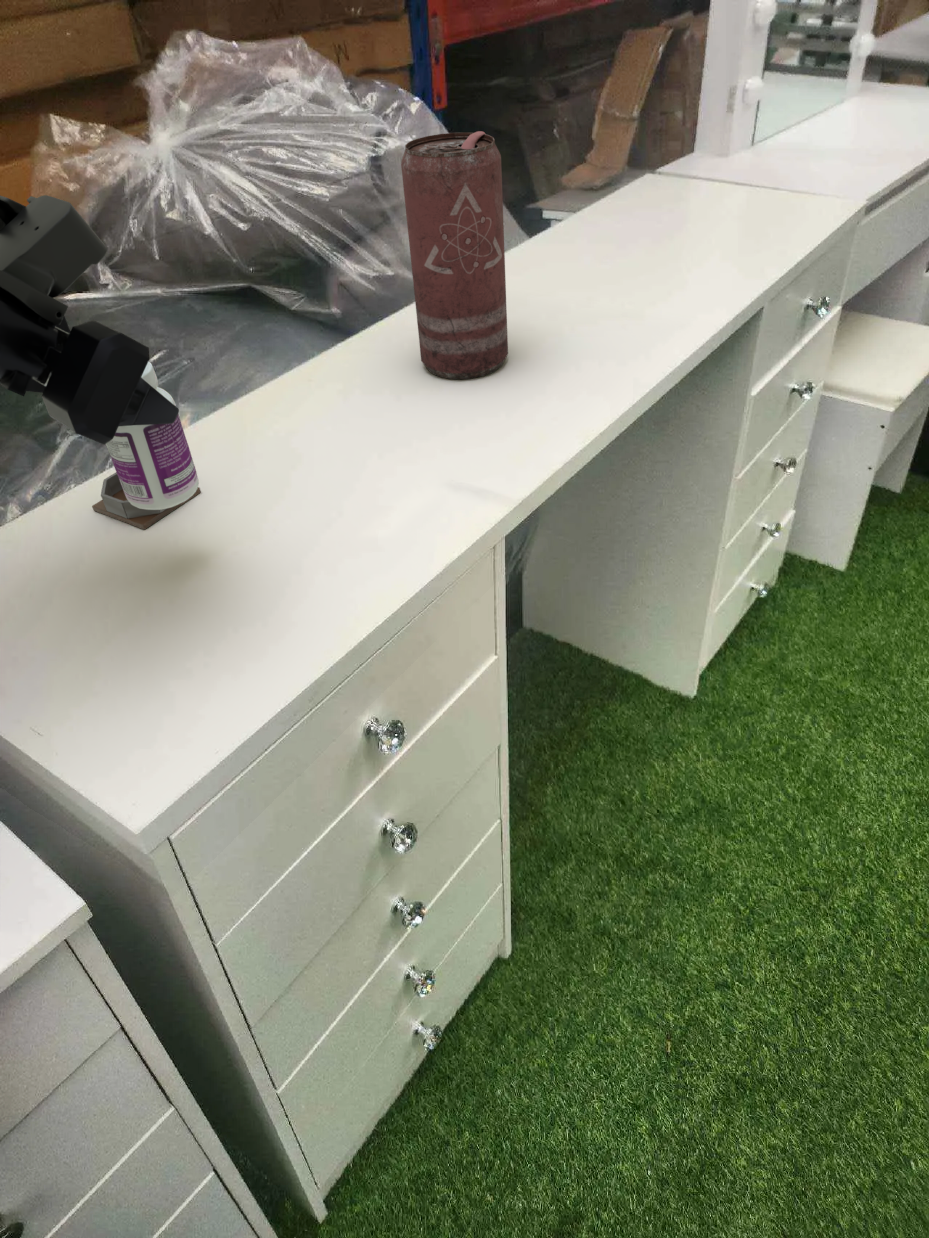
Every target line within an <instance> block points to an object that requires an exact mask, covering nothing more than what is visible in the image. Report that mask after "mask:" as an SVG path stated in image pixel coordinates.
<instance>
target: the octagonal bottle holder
mask: <svg viewBox="0 0 929 1238" xmlns="http://www.w3.org/2000/svg"><path fill="white" fill-rule="evenodd" d="M101 486H102V487H101V492H100V497H101V500H99V501H97V502H96V503H94V504H93V505H92V506H91V508H92V510H93V511H94V512H97V513H99V514H102V515H104V516H107V517H110V518H112V519H115V520H118V521H121V522H123V523H126V524H128V525H131V526H134V527H136V528H138V529H141V530H147V529H149V527H151V526H153V525H154V524H155V523H157V522H158V521H160V520H161V519H163V518H165V517H166V516H167V515H168V514H171V513H172V512H173V511H176V509H178V508H180V507H181V506H183V505H184V504H185V503H187V502H189V501H190V500H192V499H193V498H195V497H196V496H198V495H199V494H201V493H202V490H201V488H200V487H199V486H198V488H197V490H196V492H195V493H194V494H193V495H192V496H191V497H190V498H189V499H188V500H186V501H184V502H182V503H180V504H178V505H176V506H173V507H170V508H166V509H160V510H147V509H140V508H137V507H135V506H133V505H131V504H130V502H129V501H128V500H127V498H126V496H125V493H124V491H123V488H122V486H121V483H120V481H119V478H118V475H117V473H116V472H114V473H113V474H110V475H109V476H107V477H106V478H104V479H103V481H102V485H101Z"/></svg>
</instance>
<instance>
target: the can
mask: <svg viewBox="0 0 929 1238" xmlns="http://www.w3.org/2000/svg"><path fill="white" fill-rule="evenodd" d="M404 148H405V149H404V152H403V156H402V158H401V161H400V167H401V176H402V177H401V178H402V187H403V188H402V189H403V196H404V206H405V214H406V216H405V217H406V224H407V225H406V226H407V234H408V244H409V255H410V263H411V273H412V275H411V276H412V281H413V282H412V283H413V293H414V302H415V303H414V304H415V313H416V323H417V332H418V333H417V334H418V340H419V341H418V342H419V352H420V353H419V354H420V361H421V363H422V364H423V365H424V367H425V368H426V369H427V370H428V372H430V374H433V375H434V376H437V377H439V378H442V379H443V378H444V379H448V380H468V379H469V380H470V379H476V378H477V379H478V378H480V377H485V376H487V375H490V374H493V373H495V372H496V371H498V369H500V368H502V365H503V364H504V363H505V360H506V359H507V356H508V354H509V342H508V341H509V340H508V337H509V336H508V313H507V312H508V311H507V285H506V284H507V283H506V256H505V254H506V253H505V229H504V226H505V225H504V201H503V200H504V199H503V177H502V176H503V173H502V155H501V152H500V151H499V148H498V146H497V145H496V141H495V138H494V136H491V135H489V134H486V133H485V132H484V131H481V130H477V131H475V132H448V133H439V134H438V133H437V134H431V135H427V136H423V137H419V138H416V139H412V140H410V141H408V142H407V143H406V144H405V146H404Z"/></svg>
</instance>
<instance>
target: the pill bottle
mask: <svg viewBox="0 0 929 1238" xmlns="http://www.w3.org/2000/svg"><path fill="white" fill-rule="evenodd" d="M141 378H142V379H144V380H145V381H146V382H147V383H148V384H150V385H151V386H152V387H153V388H154V389H156V390H157V391H158V392H159V393H160V394H162V395H163V396H164V397H165V398H166V399H168V400H169V401H170V402H171V403H172V404H174V405H175V406H176V407H177V404H176V402H175V400H174V398H173V397H172V395H171V394H170V393H169V392H168V391H166V390H165V389H164V388H161V387H159V386H158V385H159V384H158V381H159V379H158V377H157V374H156V371H155V368H154V366H153V364H152V363H151V362H150V361H148V363H147V366H146V368H145V370H144V372H143V374H142V376H141ZM105 445H106V448H107V451H108V453H109V454H108V455H109V456H110V459H111V461H112V465H113V467H114V470H115V473H117V475H118V478H119V481H120V483H121V486H122V488H123V491H124V493H125V496H126V498H127V500H128V501H129V502H130V504H131V505H133V506H135V507H137V508H140V509H147V510H160V509H166V508H170V507H173V506H176V505H178V504H180V503H182V502H184V501H186V500H188V499H189V498H190V497H191V496H192V495H193V494H194V493H195V492H196V490H197V488H198V487H199V484H200V480H199V477H198V472H197V469H196V465H195V463H194V458H193V457H192V452H191V450H190V447H189V443H188V439H187V437H186V434H185V431H184V428H183V423H182V421H181V418H180V415H179V413H178V415H177V417H176V419H175V421H174V423H172V424H153V425H132V426H119V427H118V429H117V431H116V433H115V435H114V438H113V439H112V440H110V441H109V442H108V443H106V444H105Z"/></svg>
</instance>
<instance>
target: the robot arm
mask: <svg viewBox="0 0 929 1238" xmlns="http://www.w3.org/2000/svg"><path fill="white" fill-rule="evenodd" d="M26 201H27V203H28V204H27V205H23V204H22V203H20V202H18V201H16V200H13V199H11V198H9V197H6V196H3V195H0V386H1V387H3V388H5V389H6V390H7V391H9V392H12V393H15V394H17V395H20V396H22V397H25V394H26V393H27V392H30V393H41V398H42V400H43V403H44V405H45V408H46V410H47V412H48V413H47V414H48V415H49V417H50V418H52V419H53V420H54V421H56V422H58V423H59V424H61V426H64V427H66V428H67V429H68V430H70V431H72V432H73V433H75V434H76V435H80V436H82V437H85V438H87V439H89V440H92V441H94V442H97V443H99V444H102V445H103V446H105V445H106V443H108V442H109V441H110V440H112V439H113V438H114V435H115V433H116V431H117V429H118V427H119V426H132V425H153V424H172V423H174V421H175V419H176V417H177V415H178V414H179V413H180V409H179V408H178V407H177V405H176V406H175V405H174V404H172V403H171V402H170V401H169V400H168V399H166V398H165V397H164V396H163V395H162V394H160V393H159V392H158V391H157V390H156V389H154V388H153V387H152V386H151V385H150V384H148V383H147V382H146V381H145V380H144V379H142V378H141V376H142V374H143V372H144V370H145V368H146V366H147V363H148V362H150V359H151V358H150V348H149V347H148V346H146V345H145V344H144V343H142V342H139V341H138V340H136V339H133V338H132V337H130V336H128V335H126V334H124V333H123V332H121V331H119V330H117V329H115V328H112V327H110V326H108V325H105V324H103V323H101V322H100V321H97V320H96V319H91V320H88V321H85V322H82V323H80V324H77V325H74V326H72V327H71V329H70V326H69V324H68V321H67V318H66V316H65V315H66V313H67V310H68V309H69V306H68V305H67V304H66V303H63V302H61V301H59V300H57V299H56V298H57V297H58V296H60V295H61V294H63V293H64V292H66V291H67V290H68V289H69V288H70V287H71V286H72V285H73V284H74V283H75V282H76V281H77V280H78V279H79V278H80V277H81V276H82V275H84V273H85V272H86V271H87V270H88V269H89V268H90V267H91V266H93V265H98V264H99V263H100V262H101V261H102V260H103V259H104V258H105V256H106V254H107V252H108V247H107V245H106V244H105V243H104V242H103V241H102V240H101V238H100V237H99V236H98V235H97V234H96V232H95V231H94V230H93V228H92V227H91V225H89V224H88V223H87V221H86V220H85V218H83V216H82V215H81V214H80V213H79V212H78V210H77V209H76V208H75V206H73V205H72V203H71V202H69V201H67V200H64V199H60V198H57V197H54V196H50V195H47V194H45V195H40V196H37V197H36V196H32V195H30V196H29V197H28V198H27V199H26Z"/></svg>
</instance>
